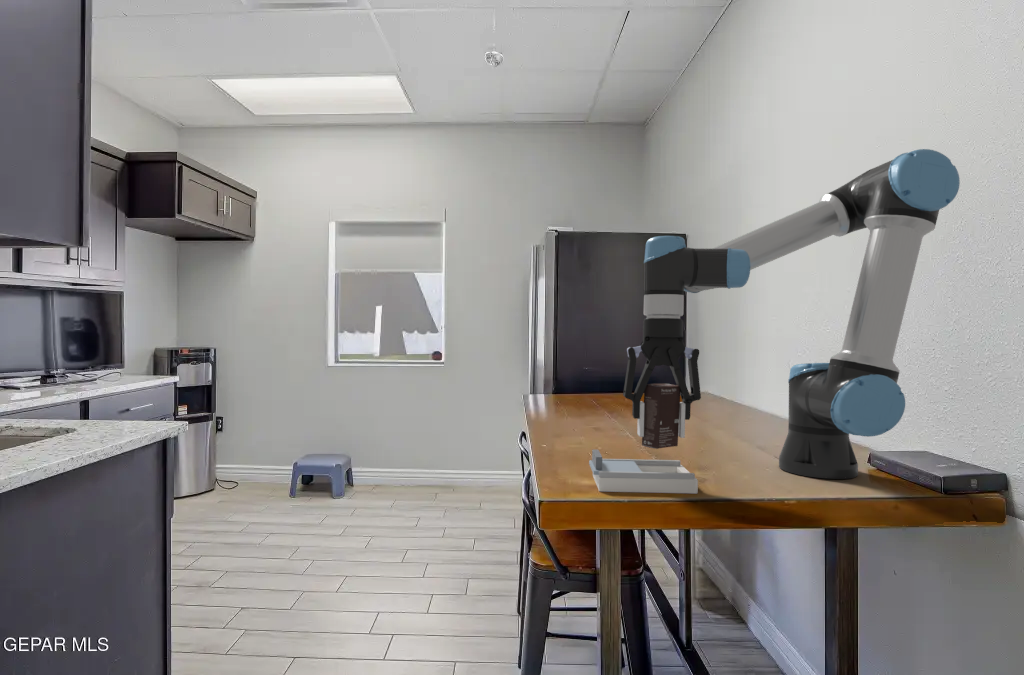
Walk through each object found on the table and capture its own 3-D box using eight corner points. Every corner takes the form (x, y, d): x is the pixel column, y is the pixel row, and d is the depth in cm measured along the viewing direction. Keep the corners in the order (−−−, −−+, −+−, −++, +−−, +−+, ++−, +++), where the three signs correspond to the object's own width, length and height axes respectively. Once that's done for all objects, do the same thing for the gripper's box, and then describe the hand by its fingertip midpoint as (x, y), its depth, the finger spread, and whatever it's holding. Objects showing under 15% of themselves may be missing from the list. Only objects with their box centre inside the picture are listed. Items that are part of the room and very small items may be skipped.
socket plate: (681, 477, 120) (681, 459, 120) (697, 493, 108) (697, 474, 108) (592, 475, 121) (592, 458, 121) (599, 491, 109) (599, 472, 109)
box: (658, 450, 111) (660, 386, 110) (641, 445, 114) (642, 384, 114) (680, 446, 114) (681, 384, 114) (662, 442, 118) (663, 382, 118)
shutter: (633, 464, 119) (634, 449, 119) (641, 475, 110) (642, 459, 110) (589, 463, 119) (589, 448, 119) (593, 474, 110) (593, 458, 110)
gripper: (709, 318, 117) (707, 433, 118) (608, 317, 118) (606, 431, 118) (721, 318, 110) (718, 440, 110) (613, 316, 110) (611, 438, 111)
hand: (660, 435), depth 114 cm, fingers closed on box, 7 cm apart
